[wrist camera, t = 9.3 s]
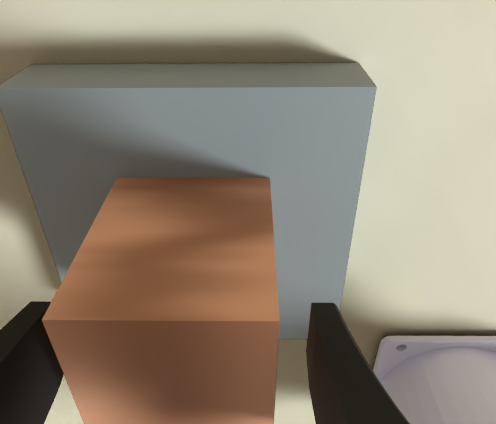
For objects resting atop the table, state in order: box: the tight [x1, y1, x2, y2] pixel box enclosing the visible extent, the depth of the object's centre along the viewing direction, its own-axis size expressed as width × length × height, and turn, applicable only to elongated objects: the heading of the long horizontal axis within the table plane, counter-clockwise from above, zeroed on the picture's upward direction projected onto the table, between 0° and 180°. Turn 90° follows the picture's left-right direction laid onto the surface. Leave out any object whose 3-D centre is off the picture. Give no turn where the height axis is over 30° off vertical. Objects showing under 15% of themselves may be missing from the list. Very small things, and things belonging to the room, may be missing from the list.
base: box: [0, 63, 377, 339], centre depth 16 cm, size 11×11×2 cm
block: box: [42, 178, 279, 424], centre depth 13 cm, size 5×5×6 cm
